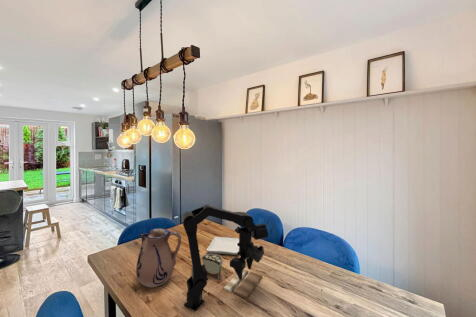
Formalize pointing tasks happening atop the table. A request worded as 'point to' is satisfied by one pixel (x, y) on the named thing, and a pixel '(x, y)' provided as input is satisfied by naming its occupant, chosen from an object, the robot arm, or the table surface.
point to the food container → (213, 265)
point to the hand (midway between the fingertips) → (245, 274)
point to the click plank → (248, 284)
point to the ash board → (235, 282)
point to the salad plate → (224, 245)
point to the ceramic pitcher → (156, 257)
